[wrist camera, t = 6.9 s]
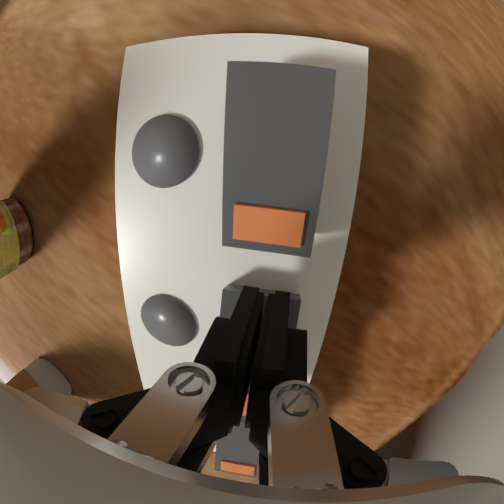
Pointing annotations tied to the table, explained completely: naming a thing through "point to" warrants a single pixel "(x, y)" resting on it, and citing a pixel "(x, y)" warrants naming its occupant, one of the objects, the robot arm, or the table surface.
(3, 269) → the sauce bottle
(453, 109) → the table surface
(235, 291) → the rocker middle
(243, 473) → the rocker
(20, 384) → the coffee cup
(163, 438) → the robot arm
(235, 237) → the rocker
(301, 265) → the rocker switch panel
